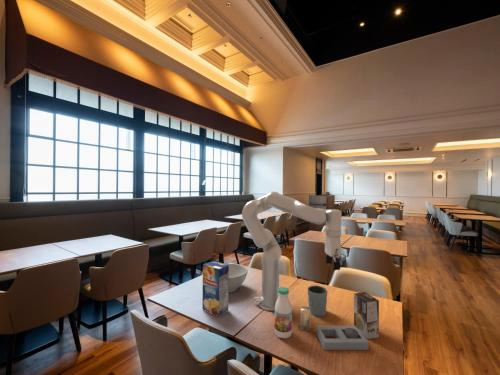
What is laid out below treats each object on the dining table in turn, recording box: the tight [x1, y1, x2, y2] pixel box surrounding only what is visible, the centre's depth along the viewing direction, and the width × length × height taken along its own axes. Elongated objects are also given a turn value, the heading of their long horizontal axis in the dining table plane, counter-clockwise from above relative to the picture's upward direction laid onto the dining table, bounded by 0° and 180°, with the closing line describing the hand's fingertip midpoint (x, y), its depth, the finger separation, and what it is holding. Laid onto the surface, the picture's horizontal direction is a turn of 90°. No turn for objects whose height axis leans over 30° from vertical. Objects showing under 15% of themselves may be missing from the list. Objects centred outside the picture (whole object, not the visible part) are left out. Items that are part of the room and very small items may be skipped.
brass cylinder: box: [299, 305, 311, 332], centre depth 107 cm, size 4×4×9 cm
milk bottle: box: [274, 286, 293, 339], centre depth 103 cm, size 8×8×20 cm
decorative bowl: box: [225, 262, 249, 294], centre depth 149 cm, size 27×27×12 cm
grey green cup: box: [307, 284, 328, 317], centre depth 121 cm, size 10×10×12 cm
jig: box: [315, 325, 370, 351], centre depth 99 cm, size 18×11×4 cm, turn 91°
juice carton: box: [201, 260, 229, 317], centre depth 123 cm, size 12×8×24 cm, turn 55°
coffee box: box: [353, 291, 380, 340], centre depth 105 cm, size 9×6×16 cm
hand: (332, 266), depth 119 cm, fingers open, 9 cm apart
